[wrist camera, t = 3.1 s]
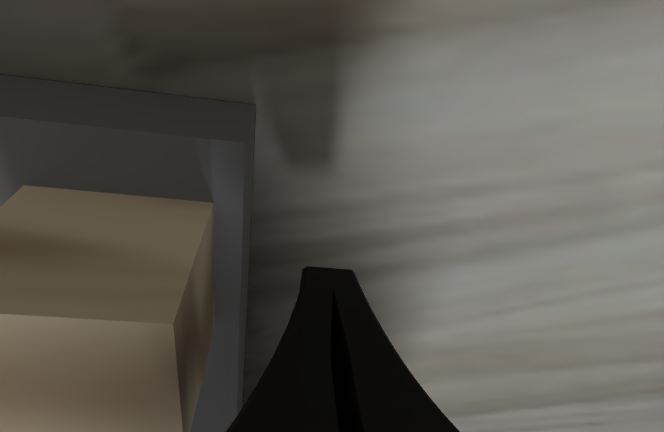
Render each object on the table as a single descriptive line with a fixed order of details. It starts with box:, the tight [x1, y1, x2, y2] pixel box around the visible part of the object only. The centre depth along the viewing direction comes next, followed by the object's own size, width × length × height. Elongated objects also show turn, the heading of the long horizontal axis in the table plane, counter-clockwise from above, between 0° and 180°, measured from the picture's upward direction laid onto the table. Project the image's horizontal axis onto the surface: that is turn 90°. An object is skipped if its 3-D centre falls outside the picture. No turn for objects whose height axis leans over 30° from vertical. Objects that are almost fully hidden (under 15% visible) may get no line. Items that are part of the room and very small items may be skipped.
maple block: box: [0, 185, 215, 432], centre depth 10 cm, size 4×4×4 cm
